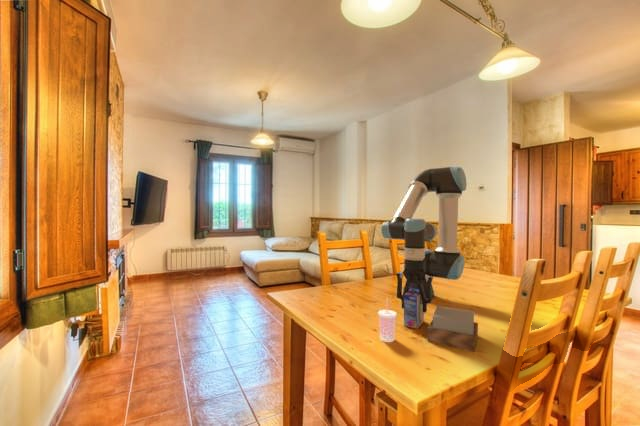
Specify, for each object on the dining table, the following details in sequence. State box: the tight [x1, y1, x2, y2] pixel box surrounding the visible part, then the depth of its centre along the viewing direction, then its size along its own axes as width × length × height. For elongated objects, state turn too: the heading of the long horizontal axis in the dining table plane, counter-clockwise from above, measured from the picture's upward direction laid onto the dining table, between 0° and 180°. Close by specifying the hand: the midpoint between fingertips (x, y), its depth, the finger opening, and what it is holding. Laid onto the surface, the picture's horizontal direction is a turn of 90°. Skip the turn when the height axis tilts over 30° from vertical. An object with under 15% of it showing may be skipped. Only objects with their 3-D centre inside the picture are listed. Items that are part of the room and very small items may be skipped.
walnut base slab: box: [427, 319, 479, 353], centre depth 101 cm, size 14×14×5 cm
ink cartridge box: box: [403, 285, 425, 330], centre depth 114 cm, size 10×6×14 cm, turn 147°
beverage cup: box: [377, 297, 397, 343], centre depth 100 cm, size 6×6×14 cm
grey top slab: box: [432, 305, 475, 335], centre depth 101 cm, size 12×12×4 cm
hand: (413, 318), depth 114 cm, fingers closed on ink cartridge box, 5 cm apart
